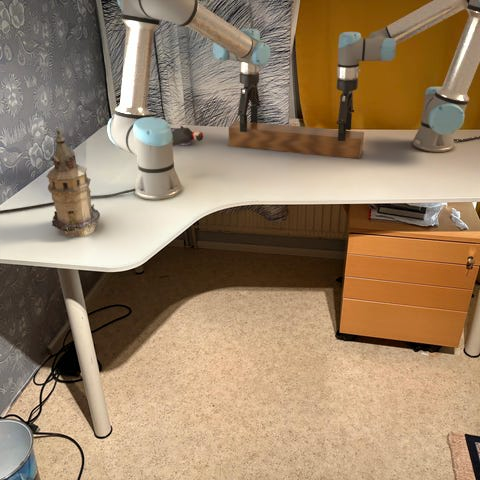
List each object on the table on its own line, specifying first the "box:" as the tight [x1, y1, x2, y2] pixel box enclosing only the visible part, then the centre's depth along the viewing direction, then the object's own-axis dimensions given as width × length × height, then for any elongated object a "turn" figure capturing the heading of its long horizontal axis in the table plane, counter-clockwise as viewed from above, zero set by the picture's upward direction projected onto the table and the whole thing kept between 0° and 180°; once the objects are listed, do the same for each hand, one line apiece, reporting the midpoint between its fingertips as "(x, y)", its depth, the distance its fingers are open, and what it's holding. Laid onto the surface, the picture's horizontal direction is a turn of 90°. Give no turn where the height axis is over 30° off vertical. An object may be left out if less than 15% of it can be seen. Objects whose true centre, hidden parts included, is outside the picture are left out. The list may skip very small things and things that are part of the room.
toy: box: [171, 125, 204, 147], centre depth 219 cm, size 26×6×30 cm
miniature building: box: [46, 129, 101, 237], centre depth 148 cm, size 13×14×30 cm
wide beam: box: [228, 120, 365, 160], centre depth 211 cm, size 52×9×8 cm, turn 72°
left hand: (248, 127), depth 214 cm, fingers open, 13 cm apart
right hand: (344, 135), depth 204 cm, fingers open, 13 cm apart
